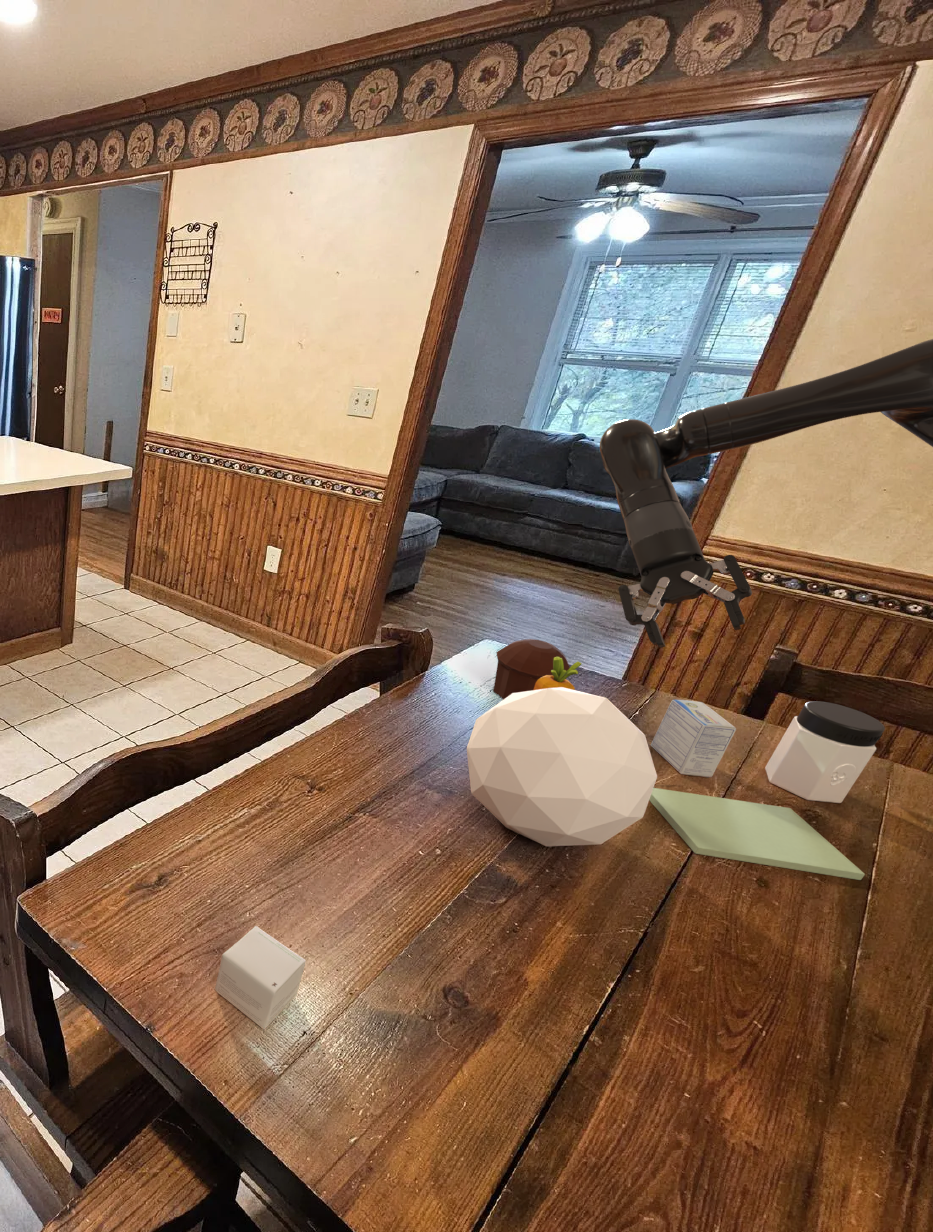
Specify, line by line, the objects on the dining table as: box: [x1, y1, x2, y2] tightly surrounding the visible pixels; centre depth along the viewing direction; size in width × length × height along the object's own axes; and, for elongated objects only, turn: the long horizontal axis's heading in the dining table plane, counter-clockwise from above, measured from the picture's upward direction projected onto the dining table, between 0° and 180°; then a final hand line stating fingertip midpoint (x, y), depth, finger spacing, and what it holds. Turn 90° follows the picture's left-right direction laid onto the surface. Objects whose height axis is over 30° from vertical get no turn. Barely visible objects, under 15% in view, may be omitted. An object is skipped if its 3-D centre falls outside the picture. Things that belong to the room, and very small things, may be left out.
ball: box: [466, 687, 658, 847], centre depth 89 cm, size 19×20×20 cm
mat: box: [649, 787, 866, 881], centre depth 94 cm, size 18×13×1 cm
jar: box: [764, 700, 886, 804], centre depth 102 cm, size 9×8×12 cm
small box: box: [214, 925, 307, 1030], centre depth 66 cm, size 6×6×5 cm
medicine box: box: [650, 699, 737, 778], centre depth 107 cm, size 8×4×9 cm, turn 171°
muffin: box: [492, 638, 571, 700], centre depth 123 cm, size 12×11×10 cm
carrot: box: [533, 657, 583, 690], centre depth 108 cm, size 5×5×15 cm
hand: (698, 637), depth 103 cm, fingers open, 8 cm apart
